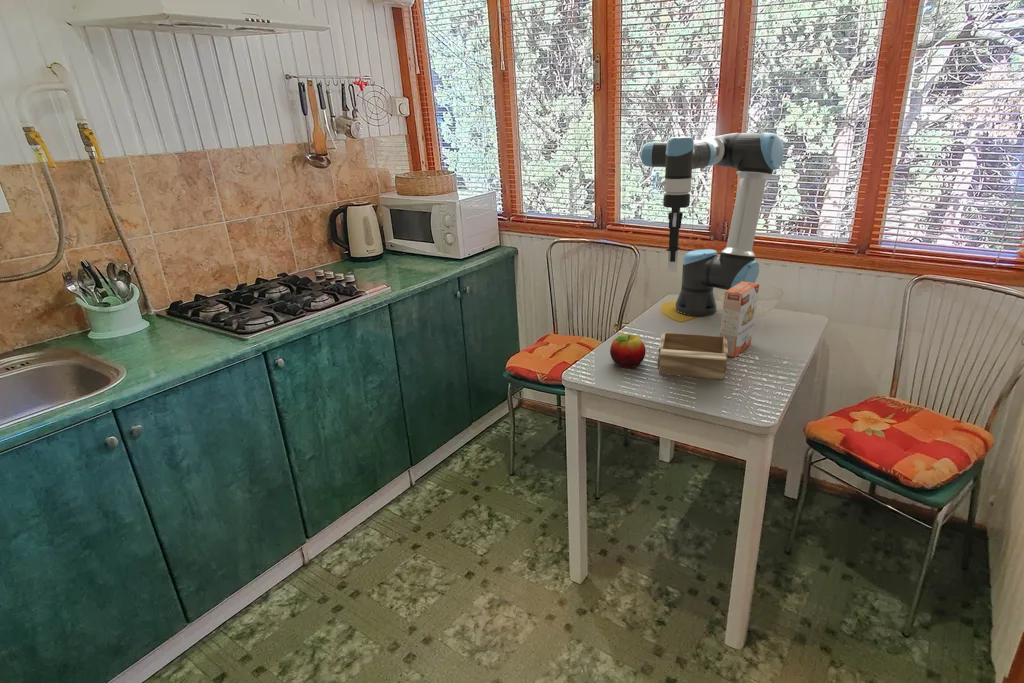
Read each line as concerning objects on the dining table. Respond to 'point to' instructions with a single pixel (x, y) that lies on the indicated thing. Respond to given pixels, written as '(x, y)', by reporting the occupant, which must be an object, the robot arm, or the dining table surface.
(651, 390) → the dining table surface
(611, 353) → the fruit
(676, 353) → the flap
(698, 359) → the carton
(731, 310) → the cracker box
